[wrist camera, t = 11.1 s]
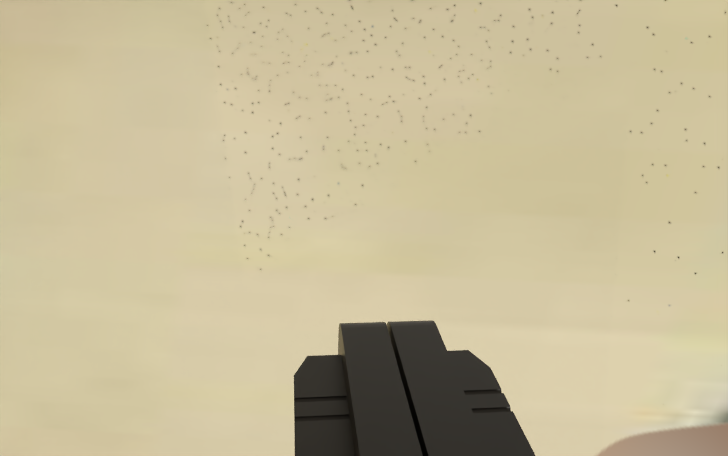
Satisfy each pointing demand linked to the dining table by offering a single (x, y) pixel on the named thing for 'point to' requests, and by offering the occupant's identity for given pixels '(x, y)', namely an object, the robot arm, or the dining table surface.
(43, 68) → the dining table surface
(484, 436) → the robot arm
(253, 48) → the dining table surface
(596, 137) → the dining table surface
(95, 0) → the dining table surface
